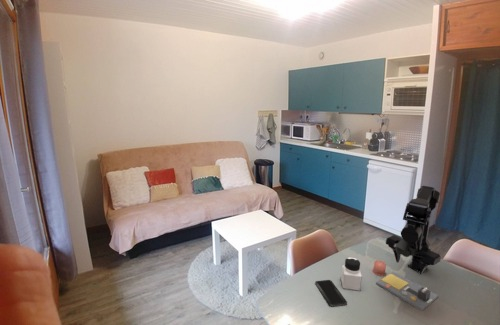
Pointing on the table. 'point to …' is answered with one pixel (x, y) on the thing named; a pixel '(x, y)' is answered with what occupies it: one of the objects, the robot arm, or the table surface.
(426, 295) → the breaker
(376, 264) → the cap
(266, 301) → the table surface
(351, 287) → the medicine bottle
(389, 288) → the panel
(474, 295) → the table surface
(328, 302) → the phone
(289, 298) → the table surface
